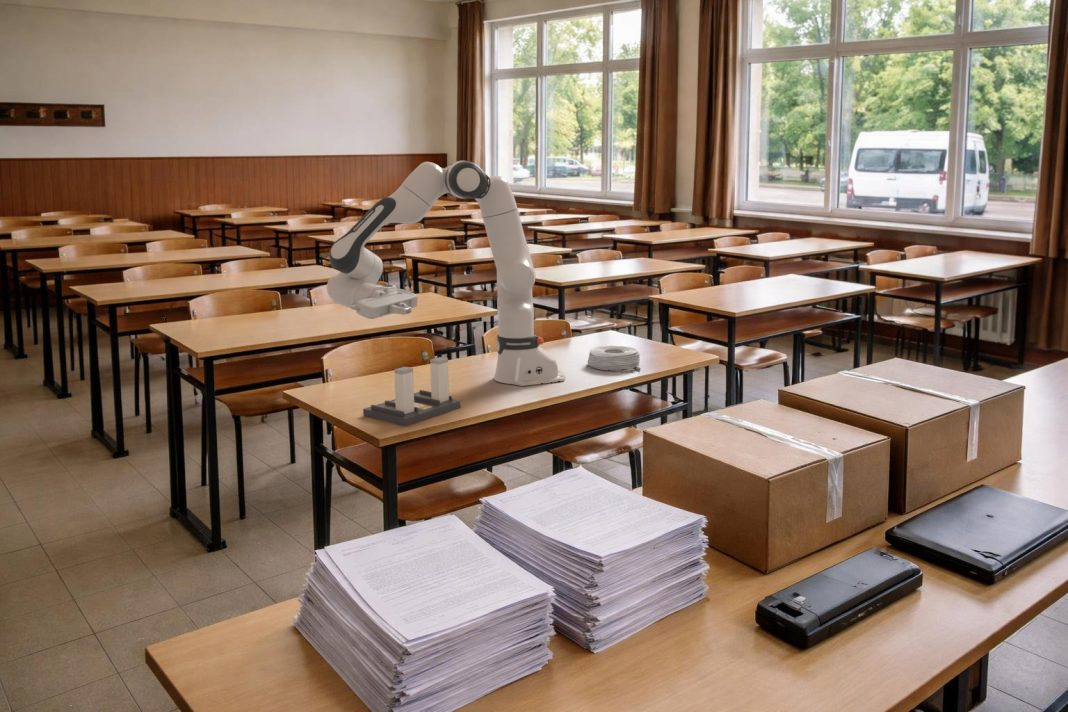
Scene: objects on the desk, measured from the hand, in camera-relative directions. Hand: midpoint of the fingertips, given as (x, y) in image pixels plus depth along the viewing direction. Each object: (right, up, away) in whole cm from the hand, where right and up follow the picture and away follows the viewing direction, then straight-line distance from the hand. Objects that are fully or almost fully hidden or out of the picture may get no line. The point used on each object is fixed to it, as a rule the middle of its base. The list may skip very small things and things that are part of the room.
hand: (408, 311), depth 265 cm
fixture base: (+2, -28, -6) cm, 29 cm away
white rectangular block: (+1, -28, -14) cm, 31 cm away
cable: (+63, -17, +47) cm, 80 cm away
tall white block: (+9, -25, -3) cm, 27 cm away
